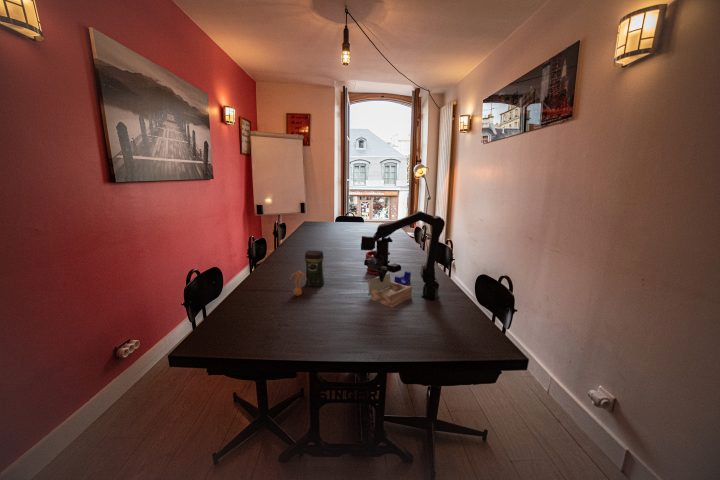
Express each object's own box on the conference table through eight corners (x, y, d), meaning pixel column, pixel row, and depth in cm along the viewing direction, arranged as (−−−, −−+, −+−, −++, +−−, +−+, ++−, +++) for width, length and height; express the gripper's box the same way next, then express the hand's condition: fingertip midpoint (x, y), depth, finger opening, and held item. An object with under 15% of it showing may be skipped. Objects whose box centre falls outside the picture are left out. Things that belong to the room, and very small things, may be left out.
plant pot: (361, 270, 181) (362, 251, 179) (380, 268, 187) (381, 249, 184) (371, 277, 170) (372, 257, 167) (391, 274, 175) (392, 255, 173)
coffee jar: (325, 282, 160) (325, 249, 156) (322, 287, 153) (321, 253, 149) (307, 281, 161) (307, 248, 157) (303, 286, 154) (303, 252, 150)
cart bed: (411, 297, 143) (412, 286, 142) (391, 307, 132) (392, 295, 131) (390, 290, 151) (391, 279, 150) (370, 299, 140) (371, 287, 139)
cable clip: (403, 280, 167) (403, 270, 165) (410, 282, 164) (410, 272, 163) (391, 286, 157) (392, 275, 156) (399, 288, 155) (399, 277, 153)
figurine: (288, 296, 141) (287, 272, 138) (291, 291, 147) (290, 268, 144) (305, 297, 141) (305, 273, 138) (307, 292, 147) (307, 269, 144)
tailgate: (390, 287, 151) (389, 273, 150) (370, 295, 140) (369, 280, 139) (388, 286, 152) (387, 272, 151) (368, 295, 141) (367, 280, 140)
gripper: (356, 250, 141) (356, 281, 145) (387, 257, 129) (386, 291, 132) (371, 246, 149) (371, 276, 153) (402, 252, 137) (401, 284, 140)
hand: (381, 281), depth 144 cm, fingers closed
